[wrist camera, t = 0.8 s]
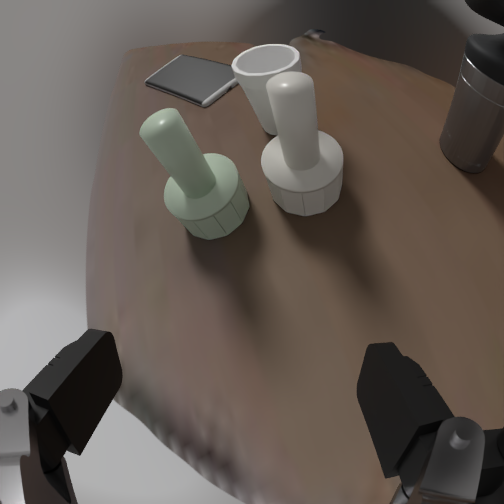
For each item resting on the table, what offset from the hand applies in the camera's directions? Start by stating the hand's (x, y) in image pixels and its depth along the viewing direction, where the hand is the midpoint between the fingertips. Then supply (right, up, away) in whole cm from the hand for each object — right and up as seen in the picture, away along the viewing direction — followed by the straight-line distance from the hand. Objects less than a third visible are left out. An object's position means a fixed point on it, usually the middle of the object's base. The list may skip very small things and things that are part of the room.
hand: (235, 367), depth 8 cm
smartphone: (-13, +44, +49) cm, 67 cm away
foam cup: (+5, +25, +36) cm, 44 cm away
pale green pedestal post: (-5, +10, +32) cm, 34 cm away
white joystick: (+8, +13, +30) cm, 34 cm away
